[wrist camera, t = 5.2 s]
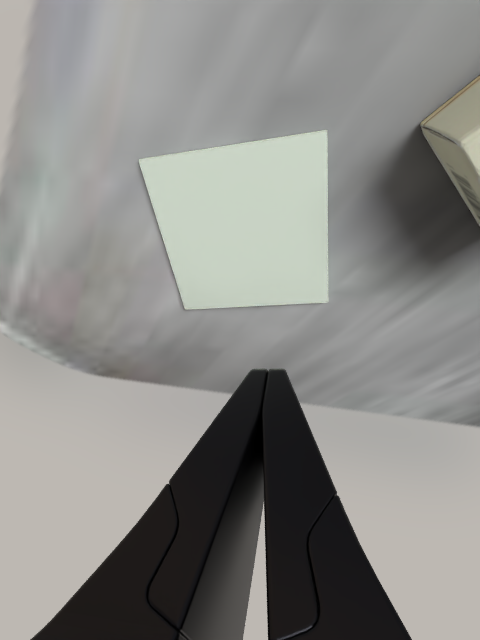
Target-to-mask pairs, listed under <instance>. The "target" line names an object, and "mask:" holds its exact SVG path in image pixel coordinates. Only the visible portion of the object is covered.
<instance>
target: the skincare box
mask: <svg viewBox="0 0 480 640" xmlns="http://www.w3.org/2000/svg"><path fill="white" fill-rule="evenodd" d="M421 128H422V131H423V134H424V136H425V138H426V140H427V141H428V143H429V145H430V146H431V148H432V150H433V151H434V153H435V154H436V156H437V158H438V159H439V161H440V162H441V164H442V166H443V167H444V169H445V170H446V172H447V174H448V175H449V177H450V179H451V180H452V182H453V184H454V185H455V187H456V188H457V190H458V192H459V193H460V195H461V197H462V198H463V200H464V201H465V203H466V205H467V206H468V208H469V210H470V211H471V213H472V214H473V216H474V218H475V219H476V221H477V223H478V224H479V226H480V76H478V77H477V78H476V79H475V80H473V81H472V82H471V83H470V84H468V85H467V86H466V87H465V88H463V89H462V90H461V91H459V92H458V93H457V94H456V95H454V96H453V97H452V98H451V99H450V100H448V101H447V102H446V103H444V104H443V105H442V106H441V107H439V108H438V109H437V110H436V111H434V112H433V113H432V114H431V115H429V116H428V117H427V118H426V119H425V120H423V121H422V122H421Z"/></svg>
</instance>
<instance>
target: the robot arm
mask: <svg viewBox="0 0 480 640" xmlns="http://www.w3.org/2000/svg"><path fill="white" fill-rule="evenodd" d="M169 484H170V485H169ZM169 484H166V486H165V487H164V488H163V490H162V491H161V492H160V494H159V495H158V497H157V498H156V499H155V501H154V502H153V503H152V505H151V506H150V507H149V508H148V510H147V511H146V512H145V513H144V515H143V516H142V518H141V519H140V520H139V521H138V523H137V524H136V525H135V526H134V527H133V528H132V530H131V531H130V532H129V533H128V534H127V535H126V537H125V538H124V539H123V540H122V541H121V542H120V544H119V545H118V546H117V547H116V548H115V549H114V551H113V552H112V553H111V554H110V555H109V556H108V557H107V558H106V559H105V561H104V562H103V563H102V564H101V565H100V566H99V567H98V569H97V570H96V571H95V572H94V573H93V574H92V575H91V576H90V577H89V579H88V580H87V581H86V582H85V583H84V584H83V585H82V586H81V588H80V589H79V590H78V591H77V592H76V593H75V594H74V595H73V597H72V598H71V599H70V600H69V601H68V602H67V603H66V605H65V606H64V607H63V608H62V609H61V610H60V611H59V612H58V613H57V614H56V616H55V617H54V618H53V619H52V620H51V621H50V622H49V623H48V624H47V625H46V626H45V627H44V628H43V629H42V630H41V631H40V632H39V633H37V634H36V635H35V636H34V637H33V638H32V639H31V640H243V634H244V627H245V620H246V614H247V608H248V601H249V594H250V587H251V581H252V575H253V568H254V561H255V554H256V548H257V541H258V535H259V528H260V522H261V515H262V509H263V502H264V509H265V510H264V511H265V542H266V543H265V544H266V578H267V579H266V580H267V614H268V640H412V639H411V637H410V636H409V634H408V632H407V630H406V628H405V626H404V625H403V623H402V621H401V619H400V618H399V616H398V614H397V612H396V610H395V609H394V607H393V605H392V603H391V602H390V600H389V598H388V596H387V594H386V592H385V591H384V589H383V587H382V585H381V584H380V582H379V580H378V578H377V576H376V574H375V572H374V570H373V568H372V566H371V565H370V563H369V561H368V559H367V557H366V555H365V553H364V551H363V549H362V547H361V545H360V543H359V541H358V539H357V537H356V534H355V532H354V530H353V528H352V526H351V523H350V521H349V519H348V517H347V515H346V512H345V510H344V508H343V505H342V503H341V501H340V498H339V496H337V491H336V489H335V487H334V485H333V482H332V479H331V477H330V475H329V472H328V470H327V468H326V465H325V463H324V460H323V458H322V456H321V453H320V451H319V449H318V446H317V444H316V441H315V440H314V437H313V434H312V432H311V430H310V427H309V425H308V422H307V420H306V418H305V415H304V413H303V410H302V408H301V406H300V403H299V401H298V399H297V396H296V394H295V391H294V389H293V387H292V384H291V382H290V380H289V377H288V375H287V372H286V370H285V369H270V370H269V371H268V370H267V369H252V370H251V371H250V372H249V373H248V375H247V376H246V377H245V379H244V380H243V381H242V383H241V384H240V386H239V387H238V388H237V390H236V391H235V392H234V394H233V395H232V396H231V398H230V399H229V400H228V402H227V403H226V405H225V406H224V407H223V409H222V410H221V411H220V413H219V414H218V415H217V417H216V418H215V419H214V421H213V422H212V424H211V425H210V426H209V428H208V429H207V430H206V432H205V433H204V434H203V436H202V437H201V438H200V440H199V441H198V443H197V444H196V445H195V447H194V448H193V449H192V451H191V452H190V453H189V455H188V456H187V457H186V459H185V460H184V461H183V463H182V464H181V466H180V467H179V468H178V470H177V471H176V472H175V474H174V475H173V476H172V478H171V479H170V481H169Z"/></svg>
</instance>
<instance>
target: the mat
mask: <svg viewBox="0 0 480 640" xmlns="http://www.w3.org/2000/svg"><path fill="white" fill-rule="evenodd" d="M138 161H139V164H140V167H141V170H142V174H143V177H144V180H145V183H146V186H147V190H148V193H149V196H150V199H151V202H152V206H153V209H154V212H155V215H156V218H157V222H158V225H159V228H160V231H161V234H162V238H163V241H164V244H165V247H166V250H167V254H168V257H169V260H170V263H171V266H172V270H173V273H174V276H175V279H176V282H177V286H178V289H179V292H180V295H181V298H182V301H183V305H184V308H185V310H188V309H208V308H228V307H248V306H268V305H288V304H308V303H328V165H327V130H322V131H316V132H310V133H303V134H297V135H290V136H284V137H278V138H271V139H265V140H258V141H252V142H246V143H239V144H233V145H226V146H220V147H214V148H207V149H201V150H194V151H188V152H182V153H175V154H169V155H162V156H156V157H150V158H143V159H140V160H138Z"/></svg>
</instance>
